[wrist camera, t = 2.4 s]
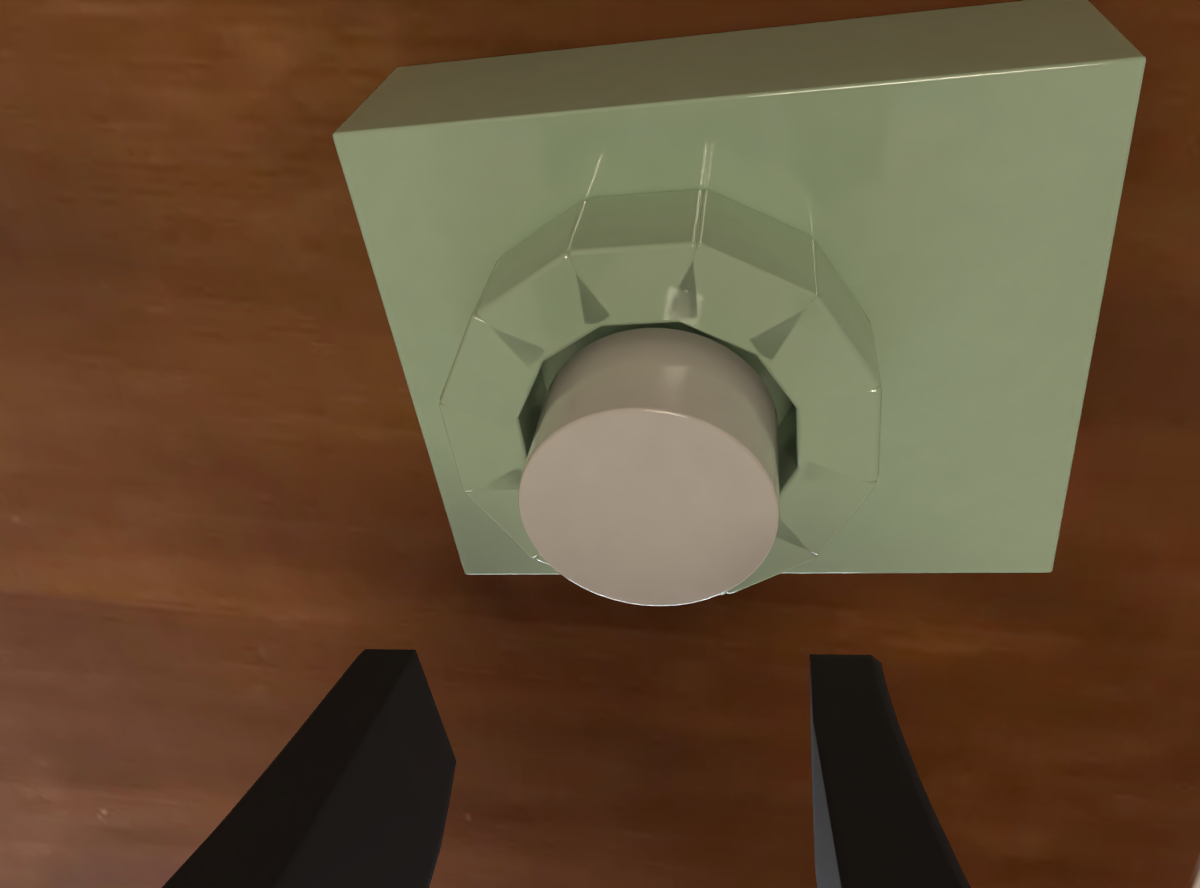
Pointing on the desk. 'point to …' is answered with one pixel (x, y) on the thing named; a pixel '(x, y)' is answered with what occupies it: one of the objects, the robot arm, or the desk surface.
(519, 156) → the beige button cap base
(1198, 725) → the desk surface
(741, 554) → the beige button cap
